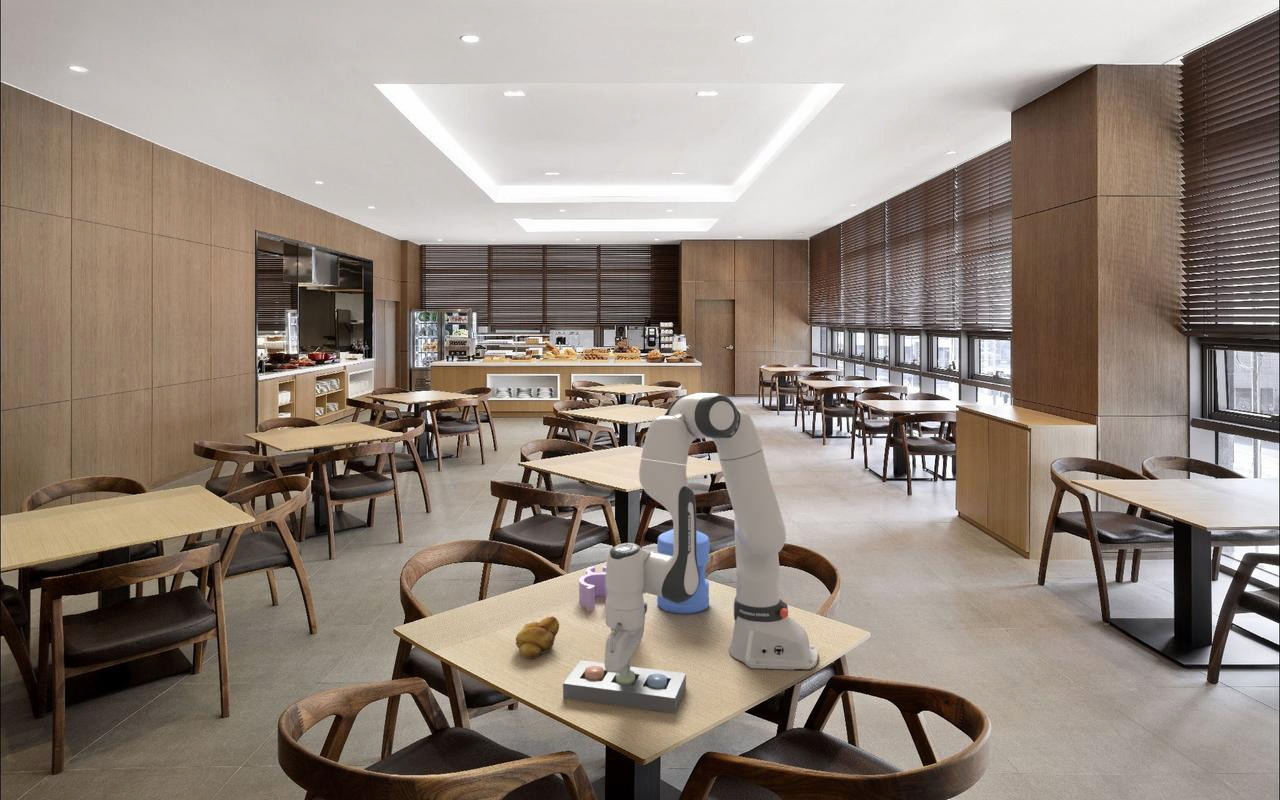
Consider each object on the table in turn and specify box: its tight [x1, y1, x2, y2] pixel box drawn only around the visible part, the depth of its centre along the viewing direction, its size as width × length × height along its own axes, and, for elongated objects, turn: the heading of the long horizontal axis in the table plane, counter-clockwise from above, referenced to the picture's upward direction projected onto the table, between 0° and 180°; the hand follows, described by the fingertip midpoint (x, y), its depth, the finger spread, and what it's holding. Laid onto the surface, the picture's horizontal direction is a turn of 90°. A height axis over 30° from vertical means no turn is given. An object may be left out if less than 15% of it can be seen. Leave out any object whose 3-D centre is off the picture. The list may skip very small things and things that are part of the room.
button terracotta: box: [585, 666, 604, 681], centre depth 176 cm, size 4×4×3 cm
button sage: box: [616, 670, 635, 685], centre depth 174 cm, size 4×4×3 cm
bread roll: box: [515, 616, 560, 659], centre depth 196 cm, size 13×10×8 cm
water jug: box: [656, 528, 711, 615], centre depth 226 cm, size 16×16×28 cm
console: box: [562, 659, 687, 714], centre depth 174 cm, size 26×12×4 cm, turn 75°
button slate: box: [647, 674, 667, 689], centre depth 172 cm, size 4×4×3 cm
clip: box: [578, 565, 607, 612], centre depth 233 cm, size 20×12×7 cm, turn 4°
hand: (624, 673), depth 174 cm, fingers closed, pressing on button sage
